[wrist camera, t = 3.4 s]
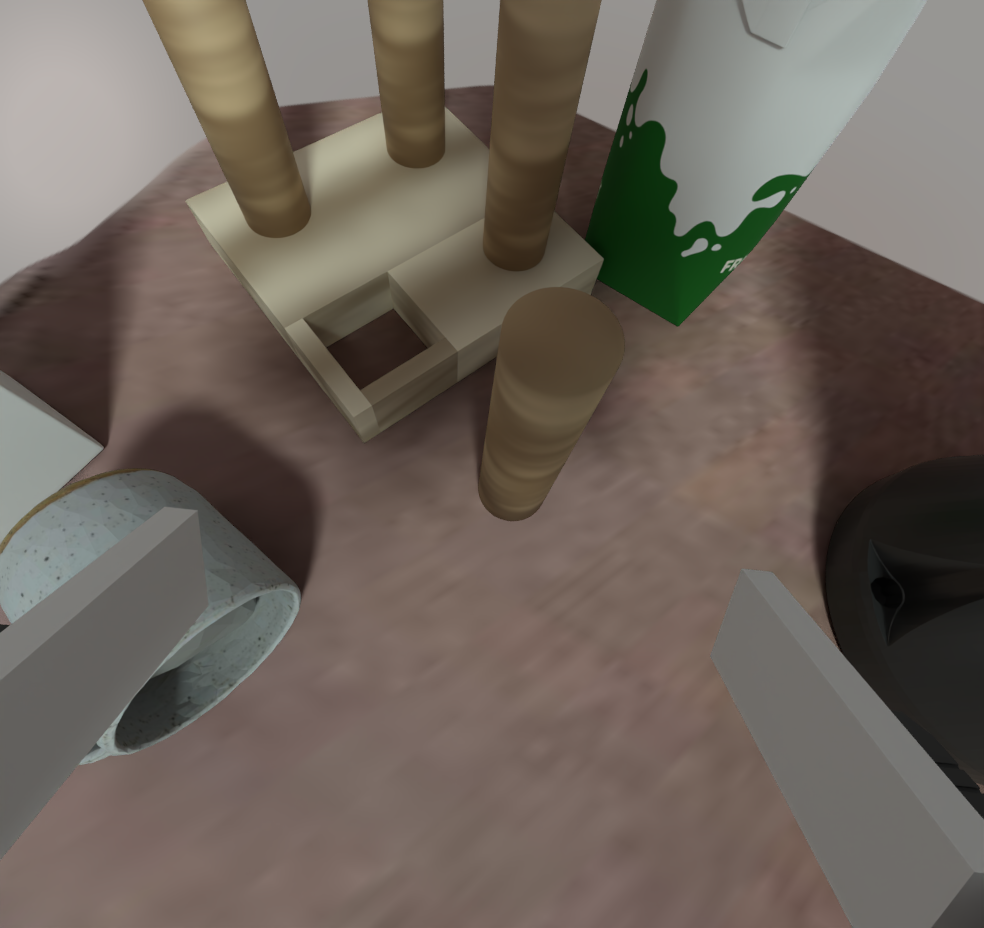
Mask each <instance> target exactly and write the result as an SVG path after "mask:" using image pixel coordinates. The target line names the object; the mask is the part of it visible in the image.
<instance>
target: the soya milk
mask: <svg viewBox="0 0 984 928" xmlns="http://www.w3.org/2000/svg"><path fill="white" fill-rule="evenodd" d="M926 1H927V0H657V1H656V4H655V8H654V11H653V14H652V17H651V20H650V24H649V27H648V30H647V33H646V37H645V40H644V44H643V47H642V50H641V53H640V56H639V59H638V63H637V66H636V69H635V73H634V76H633V79H632V82H631V85H630V89H629V92H628V95H627V98H626V102H625V105H624V108H623V111H622V115H621V118H620V121H619V124H618V128H617V131H616V134H615V138H614V141H613V144H612V147H611V151H610V154H609V157H608V160H607V164H606V167H605V170H604V174H603V177H602V180H601V184H600V187H599V191H598V194H597V198H596V202H595V205H594V209H593V213H592V216H591V220H590V224H589V227H588V231H587V234H586V238H585V241H586V242H587V243H588V244H589V245H590V246H591V247H592V248H593V249H594V250H595V251H596V252H597V253H598V254H599V255H601V256H602V257H603V258H604V260H603V263H602V266H601V268H600V271H599V274H598V276H597V279H598V280H599V281H601V282H603V283H605V284H606V285H608V286H610V287H611V288H613V289H615V290H616V291H618V292H620V293H621V294H623V295H625V296H627V297H628V298H630V299H632V300H633V301H635V302H637V303H638V304H640V305H642V306H644V307H645V308H647V309H649V310H650V311H652V312H654V313H655V314H657V315H659V316H661V317H662V318H664V319H666V320H667V321H669V322H671V323H672V324H674V325H676V326H679V325H680V324H681V323H682V322H683V321H684V320H685V319H686V318H687V317H688V316H689V315H690V314H691V313H692V312H693V311H694V310H695V309H696V308H697V307H698V306H699V305H700V304H701V303H702V302H703V301H704V300H705V299H706V298H707V297H708V296H709V295H710V294H711V293H712V291H713V290H714V289H715V288H716V287H717V286H718V285H719V284H720V283H721V282H722V281H723V280H724V279H725V278H726V277H727V276H728V275H729V274H730V273H731V272H732V271H733V270H734V269H735V268H736V267H737V266H738V265H739V264H740V263H741V262H742V261H743V260H744V259H745V258H746V256H747V255H748V254H749V253H750V252H751V251H752V250H753V248H754V247H755V246H756V245H757V244H758V242H759V241H760V240H761V238H762V237H763V236H764V235H765V233H766V232H767V231H768V230H769V228H770V227H771V226H772V225H773V223H774V222H775V221H776V220H777V218H778V217H779V216H780V214H781V213H782V211H783V210H784V209H785V207H786V206H787V205H788V203H789V202H790V201H791V199H792V198H793V196H794V195H795V194H796V192H797V191H798V190H799V188H800V187H801V185H802V184H803V183H804V181H805V180H806V179H807V177H808V176H809V174H810V173H811V172H812V170H813V169H814V168H815V166H816V165H817V164H818V162H819V161H820V160H821V158H822V157H823V156H824V154H825V153H826V151H827V150H828V149H829V147H830V146H831V145H832V143H833V142H834V140H835V139H836V138H837V136H838V135H839V134H840V132H841V131H842V129H843V128H844V127H845V125H846V124H847V123H848V121H849V120H850V119H851V117H852V116H853V115H854V113H855V111H856V110H857V109H858V108H859V106H860V105H861V104H862V102H863V101H864V99H865V98H866V97H867V95H868V94H869V92H870V91H871V90H872V88H873V87H874V85H875V84H876V82H877V80H878V79H879V77H880V76H881V74H882V72H883V71H884V69H885V68H886V66H887V64H888V63H889V61H890V60H891V58H892V56H893V55H894V53H895V52H896V50H897V49H898V47H899V45H900V44H901V42H902V41H903V39H904V37H905V36H906V34H907V33H908V31H909V29H910V28H911V26H912V25H913V23H914V22H915V20H916V18H917V17H918V15H919V13H920V12H921V10H922V8H923V6H924V5H925V3H926Z"/></svg>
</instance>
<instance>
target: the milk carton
mask: <svg viewBox="0 0 984 928" xmlns="http://www.w3.org/2000/svg"><path fill="white" fill-rule="evenodd" d="M103 449H104V447H103V446H102V445H101V444H100V443H99V442H97V441H96V440H95V439H93V438H92V437H91V436H89V435H88V434H87V433H85V432H84V431H83V430H81V429H80V428H79V427H77V426H76V425H75V424H73V423H72V422H71V421H69V420H68V419H67V418H65V417H64V416H63V415H61V414H60V413H59V412H57V411H56V410H55V409H53V408H52V407H51V406H49V405H48V404H47V403H45V402H44V401H42V400H41V399H40V398H38V397H37V396H36V395H34V394H33V393H32V392H30V391H29V390H28V389H26V388H25V387H24V386H22V385H21V384H20V383H18V382H17V381H16V380H14V379H13V378H11V377H10V376H9V375H7V374H5V373H4V372H2V371H1V370H0V544H1V542H2V541H3V539H4V538H5V537H6V535H7V534H8V533H9V531H10V530H11V529H12V528H13V527H14V526H15V525H16V524H17V523H18V522H19V521H20V520H21V519H22V518H23V517H24V516H25V515H26V514H27V513H28V512H29V511H31V510H32V509H33V508H34V507H35V506H36V505H37V504H39V503H40V502H42V501H43V500H45V499H46V498H48V497H49V496H51V495H52V494H54V493H56V492H58V491H59V490H60V489H61V488H62V487H63V486H64V485H65V484H66V483H68V482H69V481H70V480H71V479H72V478H73V477H74V476H75V475H76V474H77V473H78V472H79V471H80V470H82V469H83V468H84V467H85V466H86V465H87V464H88V463H89V462H90V461H91V460H92V459H93V458H94V457H95V456H97V455H98V454H99V453H100V452H101V451H102V450H103Z"/></svg>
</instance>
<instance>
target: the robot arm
mask: <svg viewBox="0 0 984 928" xmlns="http://www.w3.org/2000/svg"><path fill="white" fill-rule="evenodd" d="M826 591H827V599H828V605H829V610H830V615H831V619H832V623H833V626H834V629H835V632H836V635H837V638H838V641H839V643H840V646H841V648H842V651H843V653H844V655H845V657H846V658H845V657H844V655H843V654H842V653H841V652H840V651H839V650H838V648H837V647H836V646H835V645H834V644H833V643H832V641H831V640H830V639H829V638H828V637H827V636H826V634H825V633H824V632H823V631H822V630H821V629H820V627H819V626H818V625H817V624H816V623H815V622H814V620H813V619H812V618H811V617H810V616H809V614H808V613H807V612H806V611H805V610H804V609H803V607H802V606H801V605H800V604H799V603H798V602H797V600H796V599H795V598H794V597H793V596H792V595H791V593H790V592H789V591H788V590H787V589H786V588H785V586H784V585H783V584H782V583H781V582H780V581H779V579H778V578H777V577H776V576H775V575H774V573H773V572H768V571H759V570H750V569H741V572H740V575H739V577H738V580H737V583H736V586H735V588H734V591H733V594H732V597H731V600H730V602H729V605H728V608H727V611H726V613H725V616H724V619H723V622H722V625H721V627H720V630H719V633H718V636H717V638H716V641H715V644H714V647H713V650H712V652H711V655H710V657H711V659H712V660H713V662H714V664H715V666H716V668H717V670H718V672H719V674H720V676H721V678H722V680H723V681H724V683H725V685H726V687H727V689H728V691H729V693H730V695H731V697H732V699H733V701H734V702H735V704H736V706H737V708H738V710H739V712H740V714H741V716H742V718H743V720H744V722H745V723H746V725H747V727H748V729H749V731H750V733H751V735H752V737H753V739H754V741H755V743H756V744H757V746H758V748H759V750H760V752H761V754H762V756H763V758H764V760H765V762H766V764H767V765H768V767H769V769H770V771H771V773H772V775H773V777H774V779H775V781H776V783H777V785H778V786H779V788H780V790H781V792H782V794H783V796H784V798H785V800H786V802H787V804H788V806H789V807H790V809H791V811H792V813H793V815H794V817H795V819H796V821H797V823H798V825H799V827H800V828H801V830H802V832H803V834H804V836H805V838H806V840H807V842H808V844H809V846H810V848H811V849H812V851H813V853H814V855H815V857H816V859H817V861H818V863H819V865H820V867H821V869H822V870H823V872H824V874H825V876H826V878H827V880H828V882H829V884H830V886H831V888H832V890H833V891H834V893H835V895H836V897H837V899H838V901H839V903H840V905H841V907H842V909H843V911H844V912H845V914H846V916H847V918H848V920H849V922H850V924H851V926H852V928H984V794H982V793H981V792H980V790H979V789H980V787H979V786H978V785H977V784H976V783H979V784H982V785H984V455H973V456H959V457H948V458H941V459H936V460H932V461H928V462H924V463H920V464H918V465H915V466H912V467H910V468H907V469H905V470H902V471H900V472H898V473H895V474H893V475H891V476H888V477H886V478H884V479H881V480H879V481H877V482H875V483H874V484H872V485H870V486H869V487H867V488H866V489H865V490H863V491H862V492H861V493H860V494H858V495H857V496H856V497H855V498H854V499H853V500H852V501H851V503H850V504H849V505H848V506H847V508H846V509H845V510H844V512H843V513H842V515H841V517H840V518H839V520H838V522H837V524H836V527H835V529H834V532H833V534H832V537H831V541H830V544H829V549H828V554H827V562H826ZM208 605H209V604H208V595H207V587H206V578H205V569H204V561H203V552H202V544H201V535H200V526H199V518H198V510H191V509H181V508H172V507H164V508H162V509H161V510H160V511H158V512H157V513H156V514H154V515H153V516H152V517H151V518H149V519H148V520H147V521H145V522H144V523H143V524H141V525H140V526H139V527H138V528H136V529H135V530H134V531H132V532H131V533H130V534H128V535H127V536H126V537H124V538H123V539H122V540H121V541H119V542H118V543H117V544H115V545H114V546H113V547H111V548H110V549H109V550H108V551H106V552H105V553H104V554H102V555H101V556H100V557H98V558H97V559H96V560H94V561H93V562H92V563H91V564H89V565H88V566H87V567H85V568H84V569H83V570H81V571H80V572H79V573H78V574H76V575H75V576H74V577H72V578H71V579H70V580H68V581H67V582H66V583H64V584H63V585H62V586H61V587H59V588H58V589H57V590H55V591H54V592H53V593H51V594H50V595H49V596H47V597H46V598H45V599H44V600H42V601H41V602H40V603H38V604H37V605H36V606H34V607H33V608H32V609H31V610H29V611H28V612H27V613H25V614H24V615H23V616H21V617H20V618H19V619H17V620H16V621H15V622H14V623H12V624H11V625H1V624H0V860H1V859H2V858H3V856H4V855H5V854H6V853H7V851H8V850H9V849H10V848H11V846H12V845H13V844H14V843H15V842H16V840H17V839H18V838H19V837H20V835H21V834H22V833H23V832H24V831H25V829H26V828H27V827H28V826H29V824H30V823H31V822H32V821H33V820H34V818H35V817H36V816H37V815H38V813H39V812H40V811H41V810H42V809H43V807H44V806H45V805H46V804H47V802H48V801H49V800H50V799H51V798H52V796H53V795H54V794H55V793H56V791H57V790H58V789H59V788H60V787H61V785H62V784H63V783H64V782H65V780H66V779H67V778H68V777H69V776H70V774H71V773H72V772H73V771H74V769H75V768H76V767H77V766H78V765H79V763H80V762H81V761H82V760H83V758H84V757H85V756H86V755H87V754H88V752H89V751H90V750H91V749H92V747H93V746H94V745H95V744H96V742H97V741H98V740H99V739H100V738H101V736H102V735H103V734H104V733H105V731H106V730H107V729H108V728H109V727H110V725H111V724H112V723H113V722H114V720H115V719H116V718H117V717H118V716H119V714H120V713H121V712H122V711H123V709H124V708H125V707H126V706H127V705H128V703H129V702H130V701H131V700H132V698H133V697H134V696H135V695H136V694H137V692H138V691H139V690H140V689H141V687H142V686H143V685H144V684H145V683H146V681H147V680H148V679H149V678H150V676H151V675H152V674H153V673H154V672H155V670H156V669H157V668H158V667H159V665H160V664H161V663H162V662H163V661H164V659H165V658H166V657H167V656H168V654H169V653H170V652H171V651H172V650H173V648H174V647H175V646H176V645H177V643H178V642H179V641H180V640H181V639H182V637H183V636H184V635H185V634H186V632H187V631H188V630H189V629H190V627H191V626H192V625H193V624H194V623H195V621H196V620H197V619H198V618H199V616H200V615H201V614H202V613H203V612H204V610H205V609H206V608H207V607H208ZM975 782H976V783H975Z"/></svg>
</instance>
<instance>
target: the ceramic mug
mask: <svg viewBox="0 0 984 928" xmlns="http://www.w3.org/2000/svg"><path fill="white" fill-rule="evenodd" d="M164 507H172V508H181V509H191V510H198V518H199V526H200V535H201V544H202V552H203V561H204V569H205V578H206V587H207V595H208V604H209V605H208V607H207V608H206V609H205V610H204V612H203V613H202V614H201V615H200V616H199V618H198V619H197V620H196V621H195V623H194V624H193V625H192V626H191V627H190V629H189V630H188V631H187V632H186V634H185V635H184V636H183V637H182V639H181V640H180V641H179V642H178V643H177V645H176V646H175V647H174V648H173V650H172V651H171V652H170V653H169V654H168V656H167V657H166V658H165V659H164V661H163V662H162V663H161V664H160V665H159V667H158V668H157V669H156V670H155V672H154V673H153V674H152V675H151V676H150V678H149V679H148V680H147V681H146V683H145V684H144V685H143V686H142V687H141V689H140V690H139V691H138V692H137V694H136V695H135V696H134V697H133V698H132V700H131V701H130V702H129V703H128V705H127V706H126V707H125V708H124V709H123V711H122V712H121V713H120V714H119V716H118V717H117V718H116V719H115V720H114V722H113V723H112V724H111V725H110V727H109V728H108V729H107V730H106V731H105V733H104V734H103V735H102V736H101V738H100V739H99V740H98V741H97V742H96V744H95V745H94V746H93V747H92V749H91V750H90V751H89V752H88V754H87V755H86V756H85V757H84V758H83V760H82V761H81V762H80V763H79V765H82V764H87V763H93V762H95V761H98V760H101V759H103V758H106V757H108V756H110V755H113V756H116V755H127V754H132V753H134V752H137V751H140V750H142V749H145V748H147V747H150V746H152V745H154V744H156V743H158V742H160V741H162V740H164V739H166V738H168V737H170V736H171V735H173V734H175V733H176V732H178V731H179V730H181V729H182V728H184V727H185V726H187V725H189V724H190V723H192V722H193V721H195V720H196V719H198V718H199V717H200V716H201V715H203V714H204V713H206V712H207V711H209V710H210V709H211V708H213V707H214V706H215V705H216V704H218V703H219V702H220V701H222V700H223V699H224V698H225V697H226V696H227V695H228V694H229V693H230V692H231V691H232V690H233V689H235V688H236V687H237V686H238V685H239V684H240V683H241V682H242V681H243V680H245V679H246V678H247V677H248V676H249V675H250V674H252V673H253V672H254V671H255V670H256V668H257V667H258V666H259V665H260V664H261V663H262V662H263V661H264V660H265V659H266V657H267V656H268V655H269V654H270V653H271V652H272V651H273V650H274V648H275V647H276V645H277V644H278V643H279V642H280V641H281V640H282V639H283V637H284V636H285V634H286V632H287V631H288V629H289V628H290V626H291V625H292V623H293V621H294V619H295V617H296V615H297V613H298V611H299V608H300V602H301V594H300V590H299V587H298V586H297V585H296V583H295V582H294V581H293V580H291V579H290V578H289V577H288V576H287V575H286V574H285V573H284V572H283V571H282V570H281V569H279V568H278V567H277V566H276V565H275V564H274V563H273V562H272V561H271V560H270V559H269V558H268V557H267V556H266V555H265V554H263V553H262V552H261V551H260V550H259V549H258V548H257V547H256V546H255V545H254V544H253V543H252V542H251V541H250V540H248V539H247V538H246V537H245V536H244V535H243V534H242V533H241V532H240V531H239V530H237V529H236V528H235V527H234V526H233V525H232V524H231V523H230V522H229V521H228V520H227V519H225V518H224V517H223V516H222V515H221V514H220V513H219V512H218V511H217V510H216V509H215V508H214V507H213V506H212V505H211V504H210V503H209V502H208V501H207V500H206V499H205V498H204V497H203V496H201V495H200V494H199V493H198V492H197V491H196V490H194V489H192V488H191V487H189V486H187V485H186V484H184V483H182V482H181V481H179V480H178V479H177V478H175V477H174V476H171V475H168V474H166V473H163V472H160V471H156V470H152V469H138V468H133V469H121V470H114V471H110V472H105V473H101V474H98V475H95V476H92V477H90V478H87V479H84V480H81V481H78V482H75V483H73V484H70V485H68V486H66V487H64V488H63V489H61V490H59V491H58V492H56V493H54V494H52V495H51V496H49V497H48V498H46V499H45V500H43V501H42V502H40V503H39V504H37V505H36V506H35V507H34V508H33V509H32V510H31V511H29V512H28V513H27V514H26V515H25V516H24V517H23V518H22V519H21V520H20V521H19V522H18V523H17V524H16V525H15V526H14V527H13V528H12V529H11V530H10V531H9V533H8V534H7V535H6V537H5V538H4V539H3V541H2V542H1V544H0V604H1V607H2V609H3V610H4V612H5V614H6V615H7V617H8V619H9V620H10V622H11V624H12V623H14V622H15V621H16V620H17V619H19V618H20V617H21V616H23V615H24V614H25V613H27V612H28V611H29V610H31V609H32V608H33V607H34V606H36V605H37V604H38V603H40V602H41V601H42V600H44V599H45V598H46V597H47V596H49V595H50V594H51V593H53V592H54V591H55V590H57V589H58V588H59V587H61V586H62V585H63V584H64V583H66V582H67V581H68V580H70V579H71V578H72V577H74V576H75V575H76V574H78V573H79V572H80V571H81V570H83V569H84V568H85V567H87V566H88V565H89V564H91V563H92V562H93V561H94V560H96V559H97V558H98V557H100V556H101V555H102V554H104V553H105V552H106V551H108V550H109V549H110V548H111V547H113V546H114V545H115V544H117V543H118V542H119V541H121V540H122V539H123V538H124V537H126V536H127V535H128V534H130V533H131V532H132V531H134V530H135V529H136V528H138V527H139V526H140V525H141V524H143V523H144V522H145V521H147V520H148V519H149V518H151V517H152V516H153V515H154V514H156V513H157V512H158V511H160V510H161V509H162V508H164Z"/></svg>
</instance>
